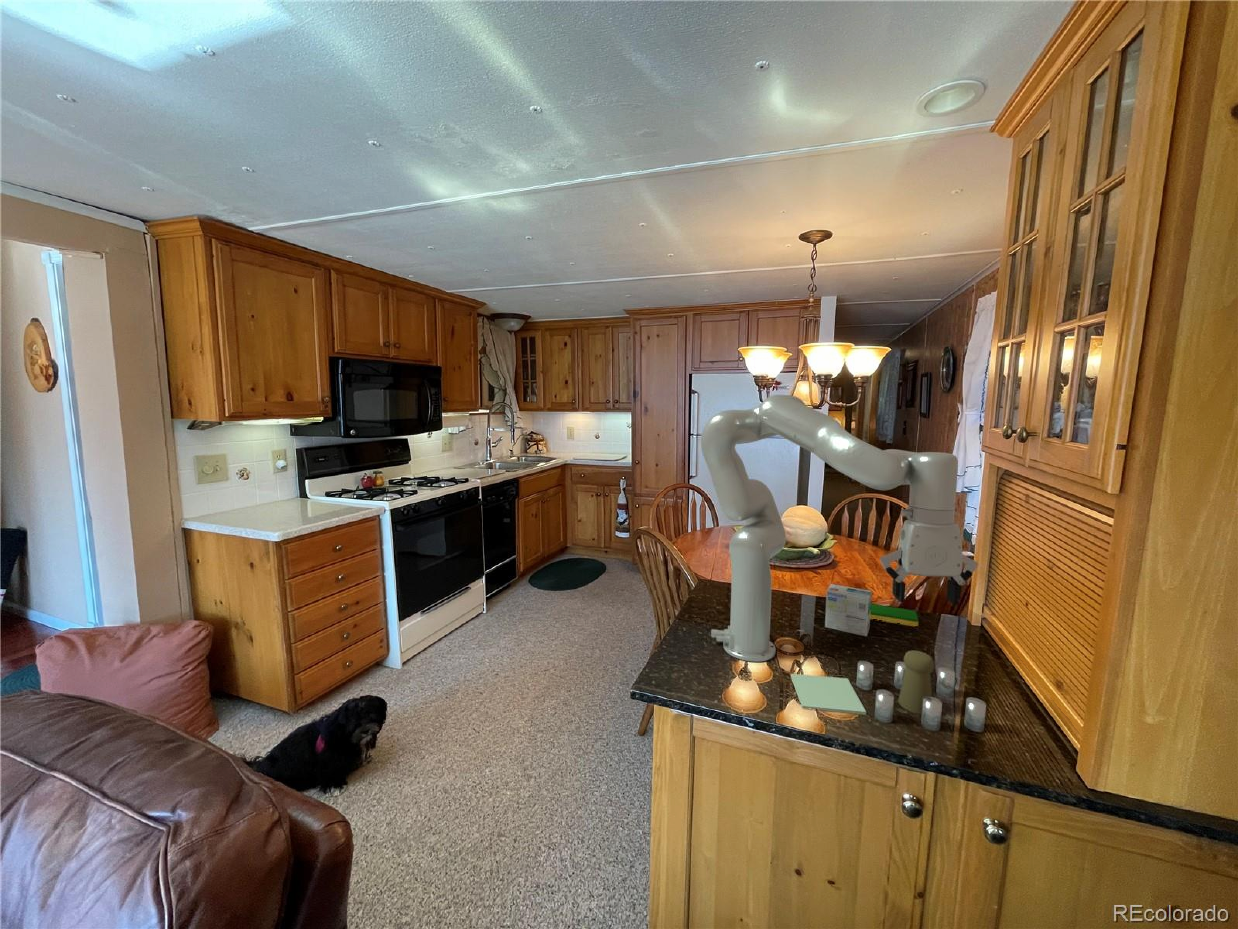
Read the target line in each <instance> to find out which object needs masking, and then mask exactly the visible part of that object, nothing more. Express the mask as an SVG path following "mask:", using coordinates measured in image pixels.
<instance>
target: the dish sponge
mask: <svg viewBox="0 0 1238 929" xmlns="http://www.w3.org/2000/svg"><path fill="white" fill-rule="evenodd" d="M873 619H877V620H876V621H879V620H882V621H881V622H885V621H886V623H893V624H897V623H900V624H899V625H903V626H908V627H909V626H910V627H915V626H918V627H919V617H918V613H917V611H916V610H914V609H913V610H912V609H905V608H898V607H892V606H887V605H881V604H880V605H879V604H873V603H871V609H870V620H873Z"/></svg>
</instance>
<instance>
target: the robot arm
mask: <svg viewBox="0 0 1238 929" xmlns="http://www.w3.org/2000/svg"><path fill="white" fill-rule="evenodd" d="M776 436H780V437H781V438H782V439H783V438H784V439H785V440H787V441H790V442H791V443H793V444H795V445H797V446H799V447H801V448H802V449H804V450H806V451H808V452H810V453H812V454H814V455H815V456H817V458H819V459H820V460H822V462H825V463H826V464H827V465H828V466H830V467H831V468H833V469H835V470H836V471H838V472H839V473H841V474H844V476H846V477H849V478H851V479H852V480H854V481H857V482H859V483H860V484H862V485H864V486H866V487H868V488H871V489H874V490H878V491H889V490H892V489H895V488H897V487H898V486H903V485H909V498H908V499H909V500H908V502H909V504H908V505H907V508H905V509H901V511H900V515H901V516H902V517H905V518H906V520H904V522H903V525H902V528H901V532H900V536H899V541H898V548H897V550H895V551H892V552H889V553H888V554H885V555H882V556H880V557H879V562H880V563H881V565H882V567H883V570H884V572H886V573H887V574H888V575H889V576H890V577H891V578H892V595H893V597H894V598H895V599H896V600H897V601H898V602H899V603H904V602H905V597H906V583H905V582H904V581H905V579H906V578H907V577H908V576H909V575H912V576H917V577H918V576H920V577H940V578H941V577H942V578H949V580H947V583H946V584H947V585H946V600H947V601H948V602H950V603H951V604H952V605H954V606H959V600H960V599H961V598H962V597H961V596H962V586H964V585H965V584H966V581H968V580H969V579H970V578H972V576H973V573H974V572H975V570H976V569H977V568H978V566H979V563H978V562H977V561H975V560H973V559H972V558H969V557H968V556H966V555H964V554H963V545H962V544H963V543H962V536H961V535H962V534H961V529H960V525H959V524H956V523H955V514H956V500H957V499H956V498H957V489H958V488H957V484H958V475H959V474H958V470H959V460H958V457H957V456H956V455H955V454H952V453H948V452H938V451H937V452H936V451H935V452H934V451H923V452H917V451H909V450H902V449H895V448H894V449H893V448H891V449H883V450H882V449H881V448H878V447H876V446H875V445H872V444H869V443H868V442H865V441H864V440H862V439H860V438H858V437H856V436H854V435H853V434H852V433H850V432H848V430H846V429H845V428H844V427H843V426H842V425H841V423H840V422H839V421H838V420H836V419H835V418H834V417H832V416H829V415H827V414H825V413H823V412H820V411H818V410H816V409H814V408H812V407H811V406H808V405H806V403H805V402H804V401H803V400H802V399H801V398H799V397H798V396H795V395H789V394H773V395H770V396H768V397H767V398H765V399H763V401H762V402H761V403H760V405H758V406H755V407H752V408H749V409H728V410H722V411H720V412H718V413H715V414H713V416H711V417H710V418H709V420H708V421H707V422H706V423H705V425H704V426H703V429H702V431H701V435H700V447H701V453H702V455H703V457H704V458H703V459H704V461H705V463H706V465H707V468H708V471H709V473H710V476H711V481H712V485H713V486H714V487H713V488H714V489H715V493H716V495H717V498H718V501H719V505H720V508H721V510H722V512H723V515H725V517H726V518H727V519H729V520H730V521H733V522H741V521H744V523H745V525H744V526H742V527H740V528H739V529H737V530H736V531H735V532H734V533H733V534H732V536H731V538H730V541H729V544H728V545H729V547H728V550H729V551H728V552H729V558H730V567H731V568H730V569H731V571H730V572H731V583H730V584H731V585H730V588H731V589H730V590H731V591H730V592H731V594H730V623H729V624H730V625H728V626H727V628H725V629H723V630H721V629H720V630H719V629H711V633H710V634H711V636H710V637H711V638H716V642H723V644H722V645H723V649H724V651H725V652H726V653H727V654H728V655H730V656H732V657H733V658H736V659H738V660H742V661H745V662H753V663H754V662H756V663H757V662H758V663H759V662H765V661H768V660H771V659H773V658H774V657H775V655H776V650H777V649H776V646H775V644H774V643H773V642H772V641H770V633H771V610H772V609H771V608H772V604H771V603H772V572H771V567H770V559H772V558H773V557H774V556H776V555H777V554H779V553H780V552H781V551H782V550H783V549H784V548H785V545H786V541H787V535H786V531H785V530H786V529H785V527H784V524H783V522H782V518H781V516H780V512H779V510H778V507H777V505H776V501H775V498H774V496H773V493H772V492H771V490H770V489H769V488H768V486H767V485H766V484H765V483H764V482H763V481H761V480H758V479H754V478H753V479H752V478H749V475H748V473H747V471H746V466H745V464H744V462H743V460H742V458H741V457H740V455H739V453H738V452H737V450H736V446H737V445H742V444H743V445H744V444H750V443H751V444H752V443H754V442H758V441H762V440H765V439H769V438H771V437H776ZM895 561H897V567H896V568H895V569H893V566H892V565H891V563H892V562H895ZM963 563H964V564H965V565H964V568H963Z"/></svg>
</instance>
